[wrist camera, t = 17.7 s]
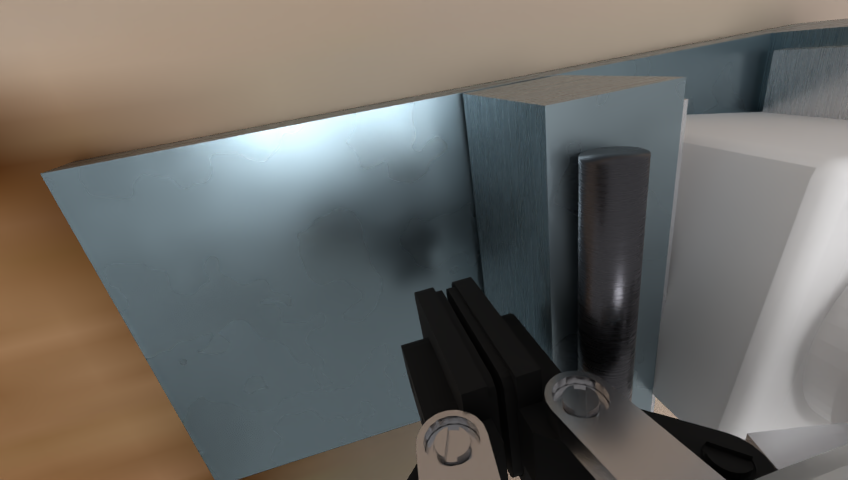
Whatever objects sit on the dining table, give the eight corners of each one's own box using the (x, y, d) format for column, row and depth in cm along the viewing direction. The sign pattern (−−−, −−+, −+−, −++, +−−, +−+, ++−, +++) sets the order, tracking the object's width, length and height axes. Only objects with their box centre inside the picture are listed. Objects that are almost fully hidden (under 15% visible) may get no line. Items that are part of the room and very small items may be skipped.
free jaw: (496, 402, 16) (580, 555, 11) (462, 93, 11) (583, 111, 6) (572, 377, 17) (685, 512, 12) (570, 73, 12) (765, 73, 7)
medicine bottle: (556, 307, 16) (1080, 820, 5) (583, 117, 13) (1889, 339, 2) (706, 285, 17) (1352, 638, 7) (758, 110, 15) (2029, 221, 4)
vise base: (226, 451, 16) (176, 661, 11) (73, 162, 11) (-183, 256, 6) (742, 291, 20) (914, 380, 14) (796, 23, 15) (1092, -6, 9)
